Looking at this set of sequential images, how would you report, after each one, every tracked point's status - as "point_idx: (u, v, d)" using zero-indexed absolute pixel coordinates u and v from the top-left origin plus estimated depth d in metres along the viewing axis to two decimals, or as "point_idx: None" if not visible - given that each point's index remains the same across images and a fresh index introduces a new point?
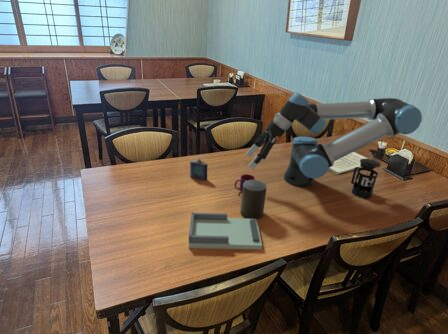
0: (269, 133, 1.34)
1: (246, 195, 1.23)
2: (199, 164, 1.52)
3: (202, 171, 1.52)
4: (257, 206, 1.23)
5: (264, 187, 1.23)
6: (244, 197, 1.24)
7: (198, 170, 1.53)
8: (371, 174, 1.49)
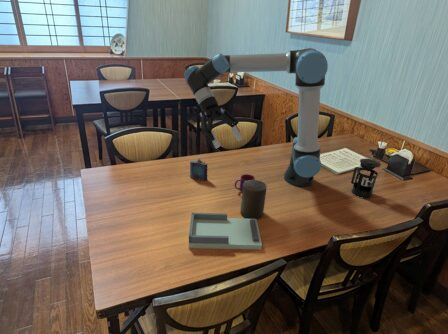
0: None
1: (246, 195, 1.23)
2: (199, 164, 1.52)
3: (202, 171, 1.52)
4: (257, 206, 1.23)
5: (264, 187, 1.23)
6: (244, 197, 1.24)
7: (198, 170, 1.53)
8: (371, 174, 1.49)
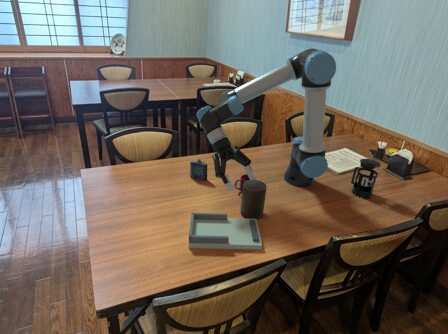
0: None
1: (246, 195, 1.23)
2: (199, 164, 1.52)
3: (202, 171, 1.52)
4: (257, 206, 1.23)
5: (264, 187, 1.23)
6: (244, 197, 1.24)
7: (198, 170, 1.53)
8: (371, 174, 1.49)
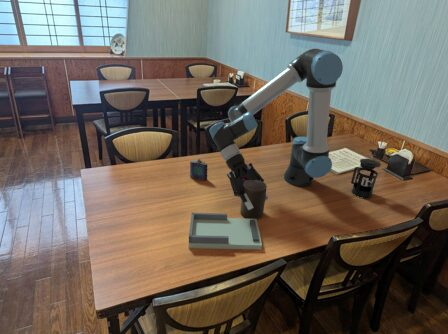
0: None
1: None
2: (199, 164, 1.52)
3: (202, 171, 1.52)
4: (257, 206, 1.23)
5: (264, 187, 1.23)
6: None
7: (198, 170, 1.53)
8: (371, 174, 1.49)
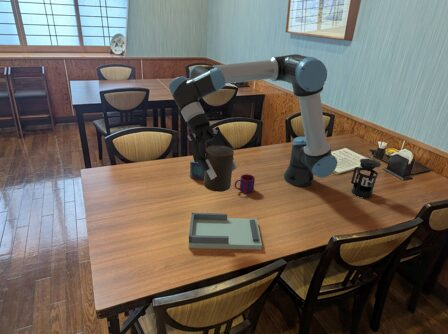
0: None
1: None
2: (199, 164, 1.52)
3: (202, 171, 1.52)
4: (221, 174, 1.03)
5: (230, 152, 1.03)
6: None
7: (198, 170, 1.53)
8: (371, 174, 1.49)
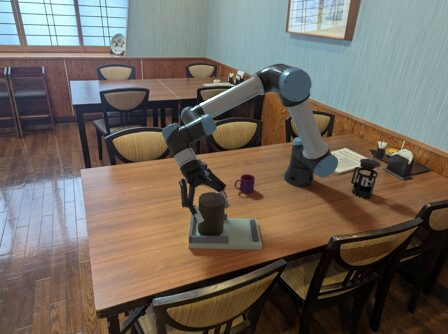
0: None
1: (201, 210, 1.08)
2: None
3: None
4: (214, 222, 1.08)
5: (222, 201, 1.08)
6: (200, 212, 1.09)
7: None
8: (371, 174, 1.49)
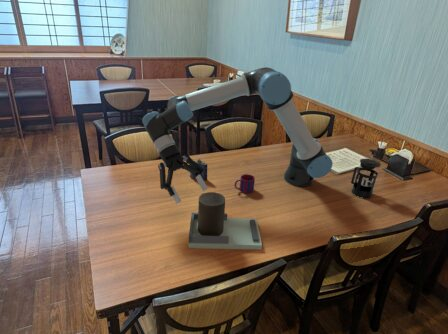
0: None
1: (201, 210, 1.08)
2: (199, 164, 1.52)
3: None
4: (214, 222, 1.08)
5: (222, 201, 1.08)
6: (200, 212, 1.09)
7: None
8: (371, 174, 1.49)
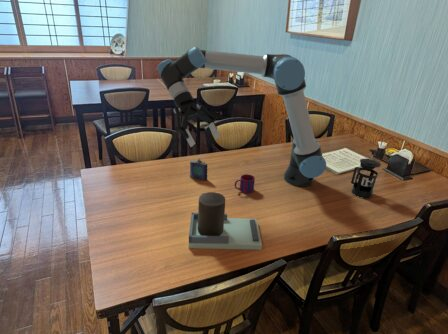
0: None
1: (201, 210, 1.08)
2: (199, 164, 1.52)
3: (202, 171, 1.52)
4: (214, 222, 1.08)
5: (222, 201, 1.08)
6: (200, 212, 1.09)
7: (198, 170, 1.53)
8: (371, 174, 1.49)
